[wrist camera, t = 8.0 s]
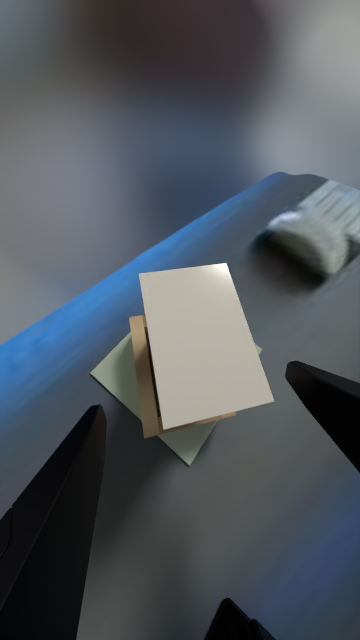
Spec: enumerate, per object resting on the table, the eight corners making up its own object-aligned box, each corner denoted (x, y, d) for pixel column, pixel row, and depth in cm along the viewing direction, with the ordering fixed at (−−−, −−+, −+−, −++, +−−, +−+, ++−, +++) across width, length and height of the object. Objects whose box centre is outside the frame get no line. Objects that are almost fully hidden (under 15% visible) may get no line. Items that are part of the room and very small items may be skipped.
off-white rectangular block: (202, 393, 18) (274, 401, 7) (162, 402, 18) (163, 429, 6) (189, 335, 20) (226, 263, 9) (152, 342, 20) (139, 273, 8)
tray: (221, 409, 19) (236, 414, 15) (148, 428, 18) (144, 438, 14) (198, 319, 22) (205, 305, 18) (135, 330, 21) (129, 317, 17)
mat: (189, 464, 17) (189, 465, 17) (90, 373, 19) (90, 373, 19) (261, 349, 22) (262, 349, 21) (176, 285, 24) (176, 284, 23)
